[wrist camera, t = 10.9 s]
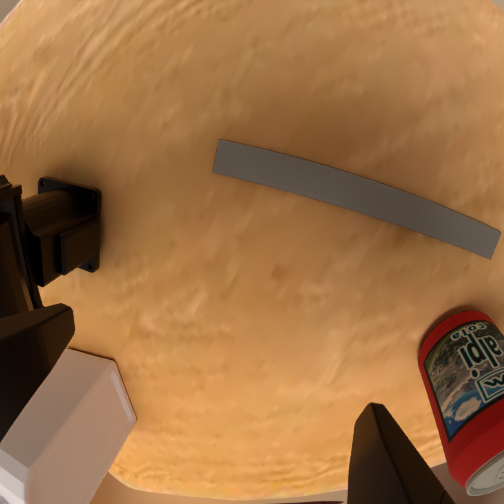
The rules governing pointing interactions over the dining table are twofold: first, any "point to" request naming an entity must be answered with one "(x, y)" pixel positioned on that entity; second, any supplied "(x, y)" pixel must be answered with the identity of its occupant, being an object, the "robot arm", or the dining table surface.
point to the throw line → (354, 195)
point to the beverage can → (468, 397)
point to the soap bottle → (66, 434)
